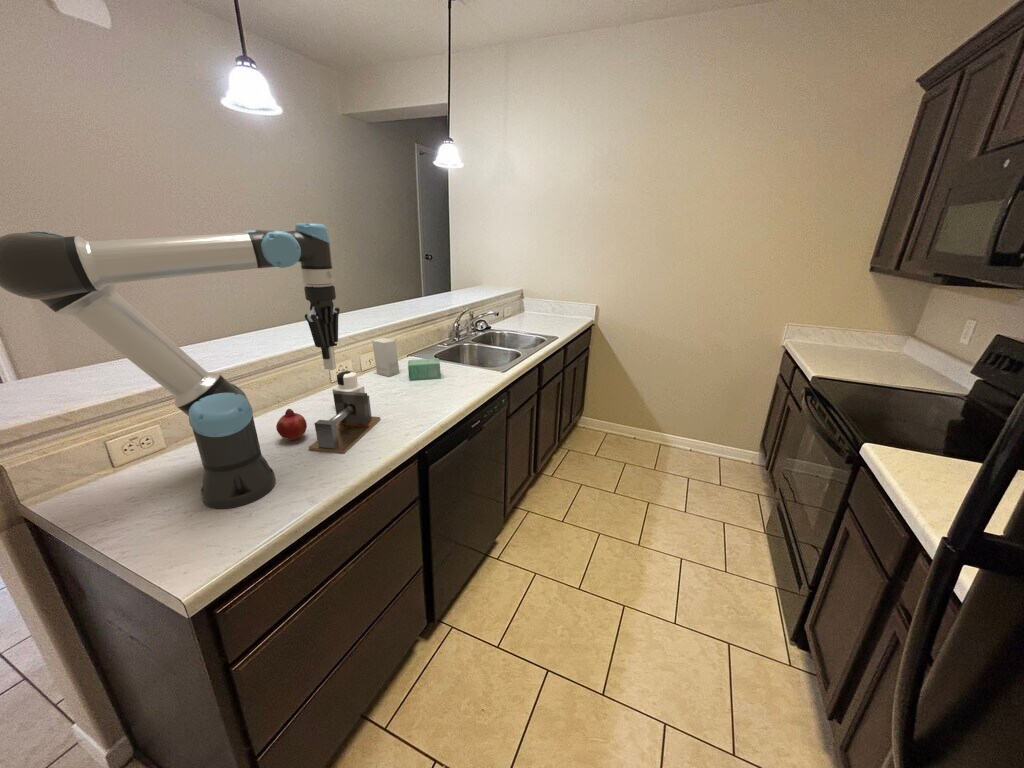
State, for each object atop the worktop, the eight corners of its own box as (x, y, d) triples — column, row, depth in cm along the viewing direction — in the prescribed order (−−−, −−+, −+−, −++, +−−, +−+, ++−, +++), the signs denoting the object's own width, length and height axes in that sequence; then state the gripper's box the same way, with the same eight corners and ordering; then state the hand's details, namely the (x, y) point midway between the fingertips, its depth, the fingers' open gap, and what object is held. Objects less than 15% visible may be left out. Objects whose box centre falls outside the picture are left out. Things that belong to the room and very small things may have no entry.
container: (334, 408, 147) (329, 374, 143) (351, 401, 154) (347, 368, 149) (350, 412, 144) (345, 377, 139) (366, 405, 150) (362, 371, 146)
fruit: (315, 435, 128) (309, 405, 125) (295, 447, 121) (289, 416, 117) (293, 431, 130) (287, 402, 127) (273, 443, 123) (266, 412, 119)
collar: (366, 425, 130) (363, 395, 127) (337, 422, 132) (333, 393, 128) (370, 421, 133) (366, 393, 129) (341, 419, 134) (337, 390, 131)
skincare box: (399, 373, 184) (396, 339, 179) (388, 377, 179) (385, 342, 174) (386, 370, 188) (383, 337, 183) (375, 374, 183) (371, 340, 178)
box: (408, 375, 182) (407, 359, 179) (439, 373, 185) (438, 357, 182) (409, 381, 175) (407, 364, 172) (441, 379, 178) (440, 362, 176)
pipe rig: (344, 453, 117) (340, 425, 114) (309, 450, 119) (304, 422, 116) (380, 419, 139) (377, 395, 136) (350, 417, 140) (347, 393, 137)
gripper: (317, 288, 103) (329, 376, 111) (345, 283, 116) (354, 363, 124) (290, 287, 105) (304, 374, 112) (320, 282, 117) (331, 361, 125)
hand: (330, 368), depth 118 cm, fingers closed
